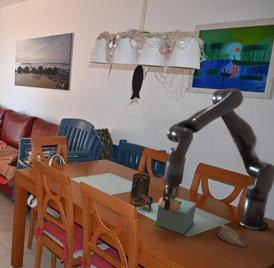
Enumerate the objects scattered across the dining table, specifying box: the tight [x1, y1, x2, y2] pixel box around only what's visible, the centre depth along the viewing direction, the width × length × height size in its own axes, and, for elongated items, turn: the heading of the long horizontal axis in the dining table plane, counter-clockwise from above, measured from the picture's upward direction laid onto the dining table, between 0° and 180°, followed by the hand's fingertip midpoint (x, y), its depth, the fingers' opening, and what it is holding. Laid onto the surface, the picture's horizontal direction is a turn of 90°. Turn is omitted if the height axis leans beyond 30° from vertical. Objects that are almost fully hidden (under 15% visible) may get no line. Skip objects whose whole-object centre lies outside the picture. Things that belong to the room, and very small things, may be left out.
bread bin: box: [155, 204, 197, 235], centre depth 162 cm, size 17×13×10 cm
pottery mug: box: [132, 194, 154, 212], centre depth 180 cm, size 12×10×8 cm
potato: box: [158, 196, 180, 211], centre depth 148 cm, size 9×5×5 cm, turn 50°
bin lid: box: [157, 197, 197, 215], centre depth 160 cm, size 18×13×5 cm
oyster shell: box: [217, 224, 246, 247], centre depth 150 cm, size 10×12×5 cm
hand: (168, 207), depth 149 cm, fingers closed on potato, 5 cm apart
